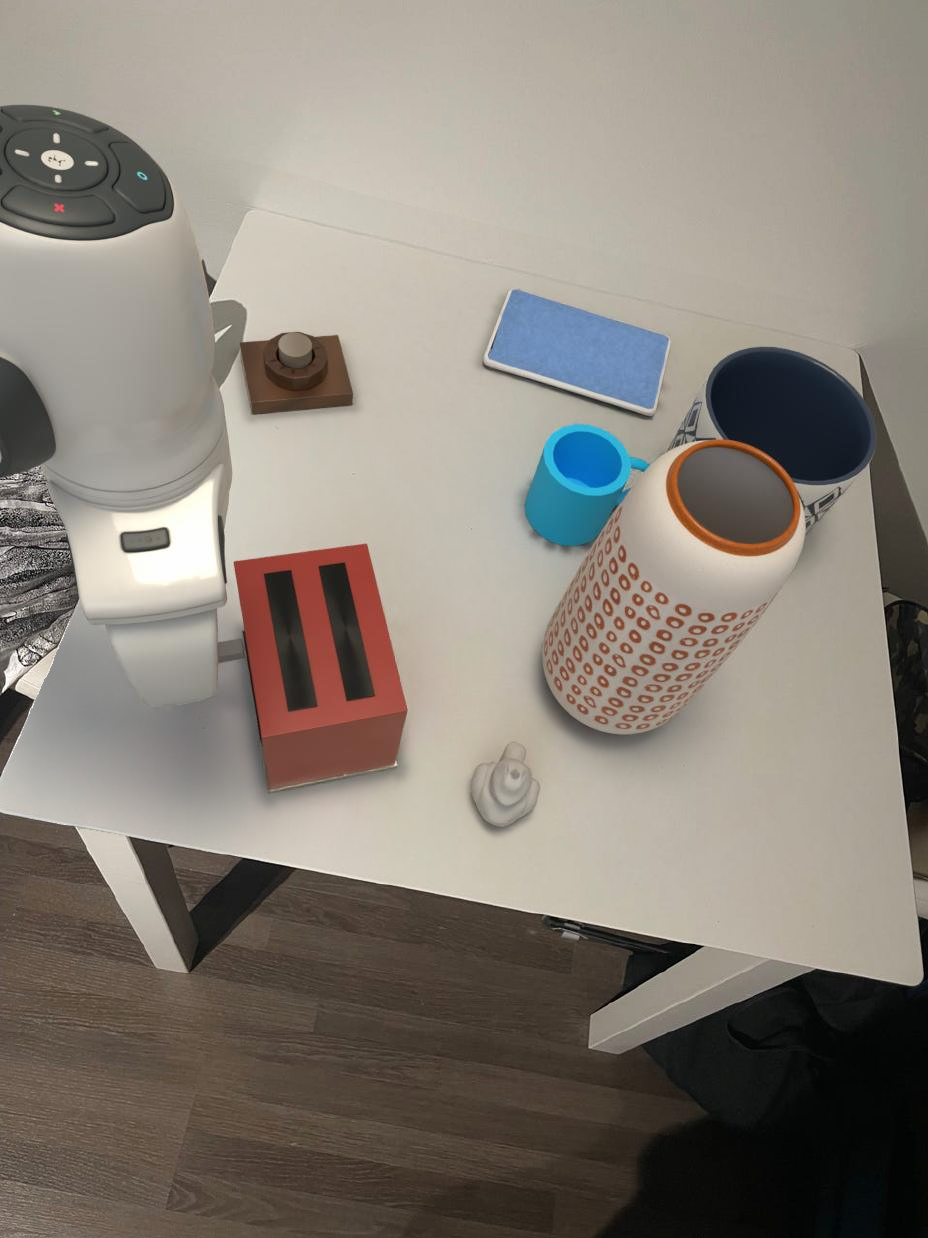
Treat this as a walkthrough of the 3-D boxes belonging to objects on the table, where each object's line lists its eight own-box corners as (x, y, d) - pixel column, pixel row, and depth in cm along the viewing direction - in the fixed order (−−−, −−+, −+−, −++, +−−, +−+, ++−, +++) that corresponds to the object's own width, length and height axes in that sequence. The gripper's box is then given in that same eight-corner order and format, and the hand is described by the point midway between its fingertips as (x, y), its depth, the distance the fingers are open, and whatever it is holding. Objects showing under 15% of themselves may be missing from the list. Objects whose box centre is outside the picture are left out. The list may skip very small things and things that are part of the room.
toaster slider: (173, 683, 65) (167, 666, 62) (170, 655, 66) (163, 637, 63) (246, 671, 66) (244, 654, 63) (242, 643, 67) (239, 625, 64)
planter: (662, 427, 92) (717, 324, 80) (804, 473, 92) (880, 377, 80) (637, 544, 85) (693, 450, 72) (792, 594, 85) (874, 509, 72)
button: (281, 370, 84) (281, 357, 83) (276, 346, 86) (276, 333, 84) (314, 368, 85) (314, 355, 84) (309, 344, 86) (308, 330, 85)
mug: (536, 550, 83) (556, 499, 75) (515, 481, 86) (533, 427, 79) (651, 537, 85) (681, 487, 78) (626, 471, 89) (653, 417, 82)
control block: (252, 414, 85) (249, 389, 82) (240, 354, 89) (238, 328, 86) (352, 404, 88) (353, 380, 85) (337, 346, 91) (338, 321, 88)
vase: (693, 743, 75) (874, 579, 51) (546, 758, 73) (662, 593, 48) (655, 609, 81) (800, 404, 57) (518, 618, 79) (608, 408, 54)
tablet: (479, 367, 93) (481, 358, 91) (508, 291, 99) (510, 282, 98) (651, 422, 93) (656, 414, 91) (669, 343, 99) (673, 334, 98)
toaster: (268, 794, 68) (258, 740, 57) (242, 633, 74) (229, 558, 63) (397, 767, 70) (411, 712, 60) (362, 614, 77) (369, 539, 66)
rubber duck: (458, 821, 69) (474, 791, 62) (479, 746, 72) (496, 710, 65) (523, 841, 69) (545, 814, 62) (540, 765, 72) (564, 732, 65)
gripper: (60, 308, 47) (112, 467, 59) (83, 643, 38) (138, 749, 50) (182, 301, 48) (208, 458, 60) (230, 622, 40) (249, 729, 52)
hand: (176, 592), depth 55 cm, fingers open, 8 cm apart
